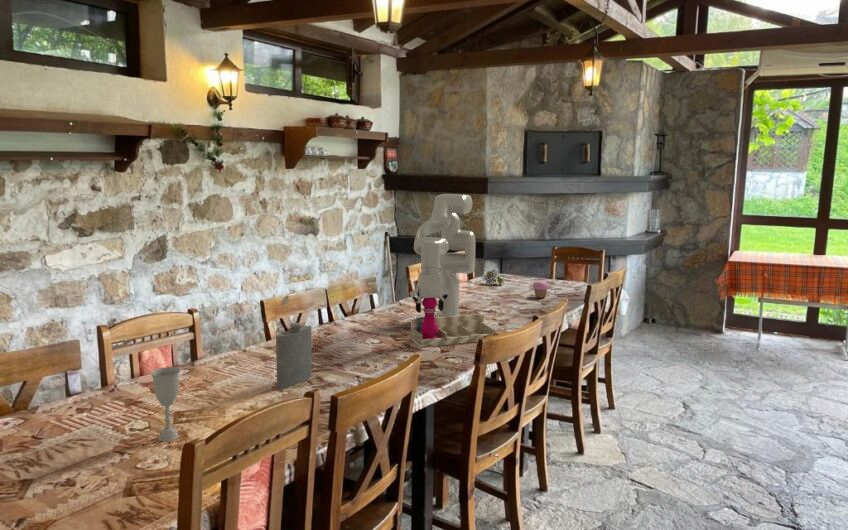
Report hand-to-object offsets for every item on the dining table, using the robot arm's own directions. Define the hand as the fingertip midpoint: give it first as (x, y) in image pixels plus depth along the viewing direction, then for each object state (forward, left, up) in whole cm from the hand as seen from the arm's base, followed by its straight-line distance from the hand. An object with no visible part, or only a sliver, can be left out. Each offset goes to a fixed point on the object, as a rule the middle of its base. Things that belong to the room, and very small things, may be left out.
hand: (429, 311), depth 261 cm
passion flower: (-111, +86, -13) cm, 141 cm away
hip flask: (+32, -61, -13) cm, 70 cm away
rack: (0, +10, -13) cm, 17 cm away
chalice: (+65, -100, -13) cm, 120 cm away
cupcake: (-67, +93, -13) cm, 116 cm away
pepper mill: (0, 0, -12) cm, 12 cm away
